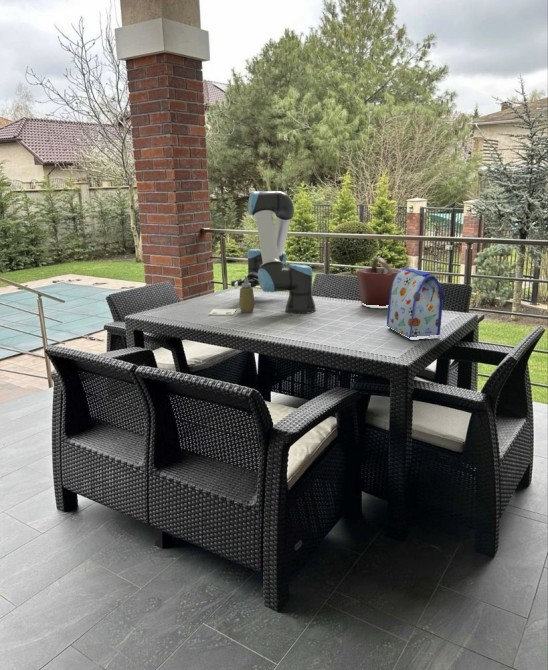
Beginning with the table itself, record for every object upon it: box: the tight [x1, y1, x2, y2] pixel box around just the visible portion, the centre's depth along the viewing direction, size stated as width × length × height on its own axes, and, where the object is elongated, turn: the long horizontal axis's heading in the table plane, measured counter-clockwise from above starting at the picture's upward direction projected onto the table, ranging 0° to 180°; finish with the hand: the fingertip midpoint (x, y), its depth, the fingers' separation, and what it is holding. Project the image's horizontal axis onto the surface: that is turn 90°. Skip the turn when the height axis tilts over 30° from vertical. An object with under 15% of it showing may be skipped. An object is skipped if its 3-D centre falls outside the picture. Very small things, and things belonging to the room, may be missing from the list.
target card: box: [208, 308, 237, 316], centre depth 268 cm, size 12×12×1 cm
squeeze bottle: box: [238, 275, 256, 313], centre depth 267 cm, size 8×8×18 cm
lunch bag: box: [386, 267, 447, 338], centre depth 220 cm, size 23×17×27 cm
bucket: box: [356, 257, 401, 306], centre depth 276 cm, size 24×22×25 cm
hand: (248, 286), depth 276 cm, fingers open, 13 cm apart
